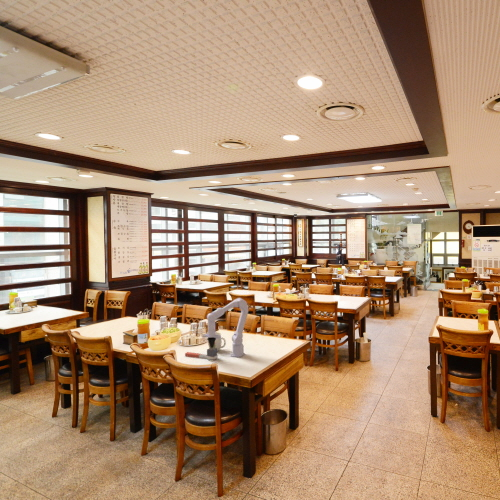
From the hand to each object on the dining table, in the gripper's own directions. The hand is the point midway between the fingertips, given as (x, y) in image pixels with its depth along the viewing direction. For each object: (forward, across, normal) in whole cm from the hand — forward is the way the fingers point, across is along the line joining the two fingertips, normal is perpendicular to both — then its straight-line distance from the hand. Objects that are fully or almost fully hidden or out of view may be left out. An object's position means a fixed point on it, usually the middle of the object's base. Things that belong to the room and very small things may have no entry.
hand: (212, 347), depth 261 cm
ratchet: (+9, -9, 0) cm, 13 cm away
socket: (+6, 0, 0) cm, 6 cm away
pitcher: (+9, -7, +19) cm, 22 cm away
